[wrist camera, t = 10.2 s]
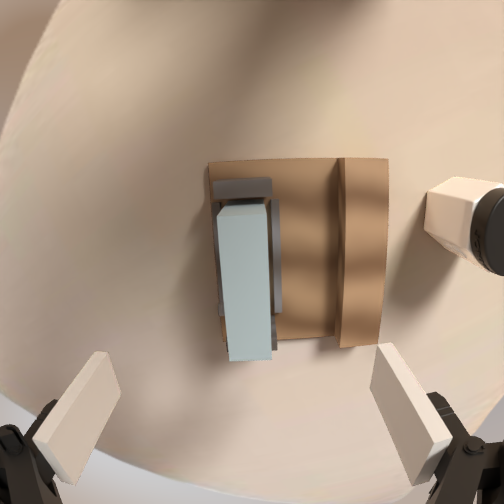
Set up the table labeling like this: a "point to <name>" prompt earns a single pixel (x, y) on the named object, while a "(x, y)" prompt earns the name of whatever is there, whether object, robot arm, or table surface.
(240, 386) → the table surface
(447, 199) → the jar
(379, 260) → the brown piece
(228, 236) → the door
